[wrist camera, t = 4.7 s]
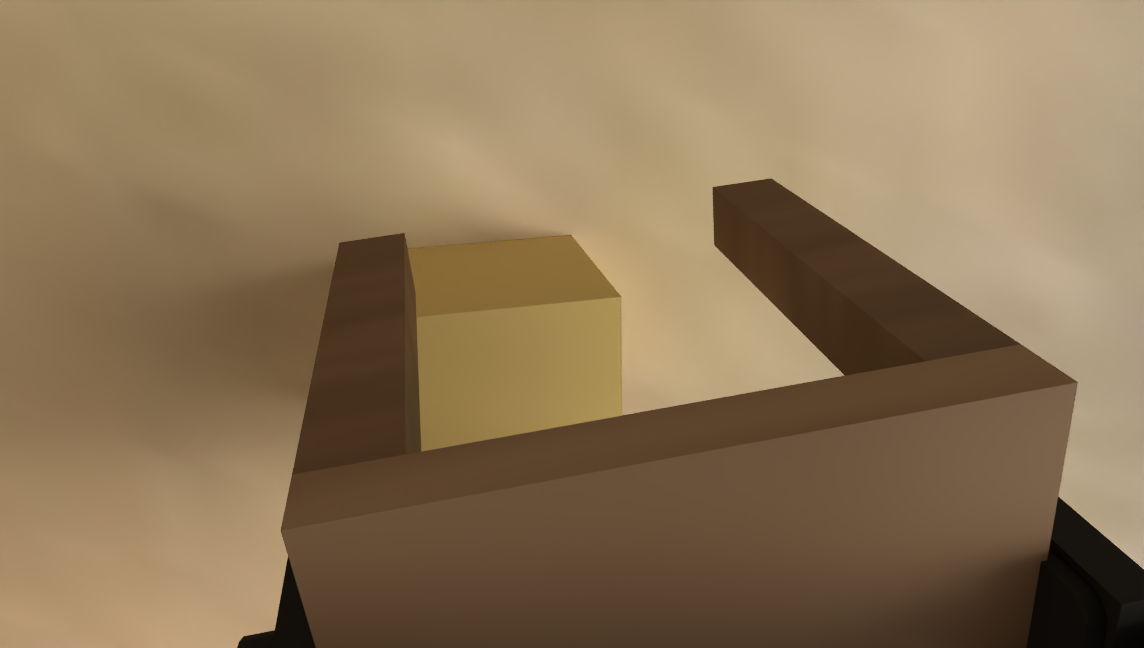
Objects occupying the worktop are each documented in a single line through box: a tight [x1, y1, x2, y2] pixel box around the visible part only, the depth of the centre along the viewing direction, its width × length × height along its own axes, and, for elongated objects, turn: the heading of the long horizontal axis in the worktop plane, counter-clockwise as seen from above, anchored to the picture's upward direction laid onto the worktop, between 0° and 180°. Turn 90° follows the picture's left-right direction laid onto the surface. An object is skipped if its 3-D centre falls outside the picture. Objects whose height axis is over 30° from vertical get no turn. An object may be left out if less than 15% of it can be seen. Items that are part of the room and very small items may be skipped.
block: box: [408, 235, 622, 452], centre depth 19 cm, size 4×4×4 cm
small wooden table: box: [281, 179, 1078, 648], centre depth 12 cm, size 7×7×7 cm
